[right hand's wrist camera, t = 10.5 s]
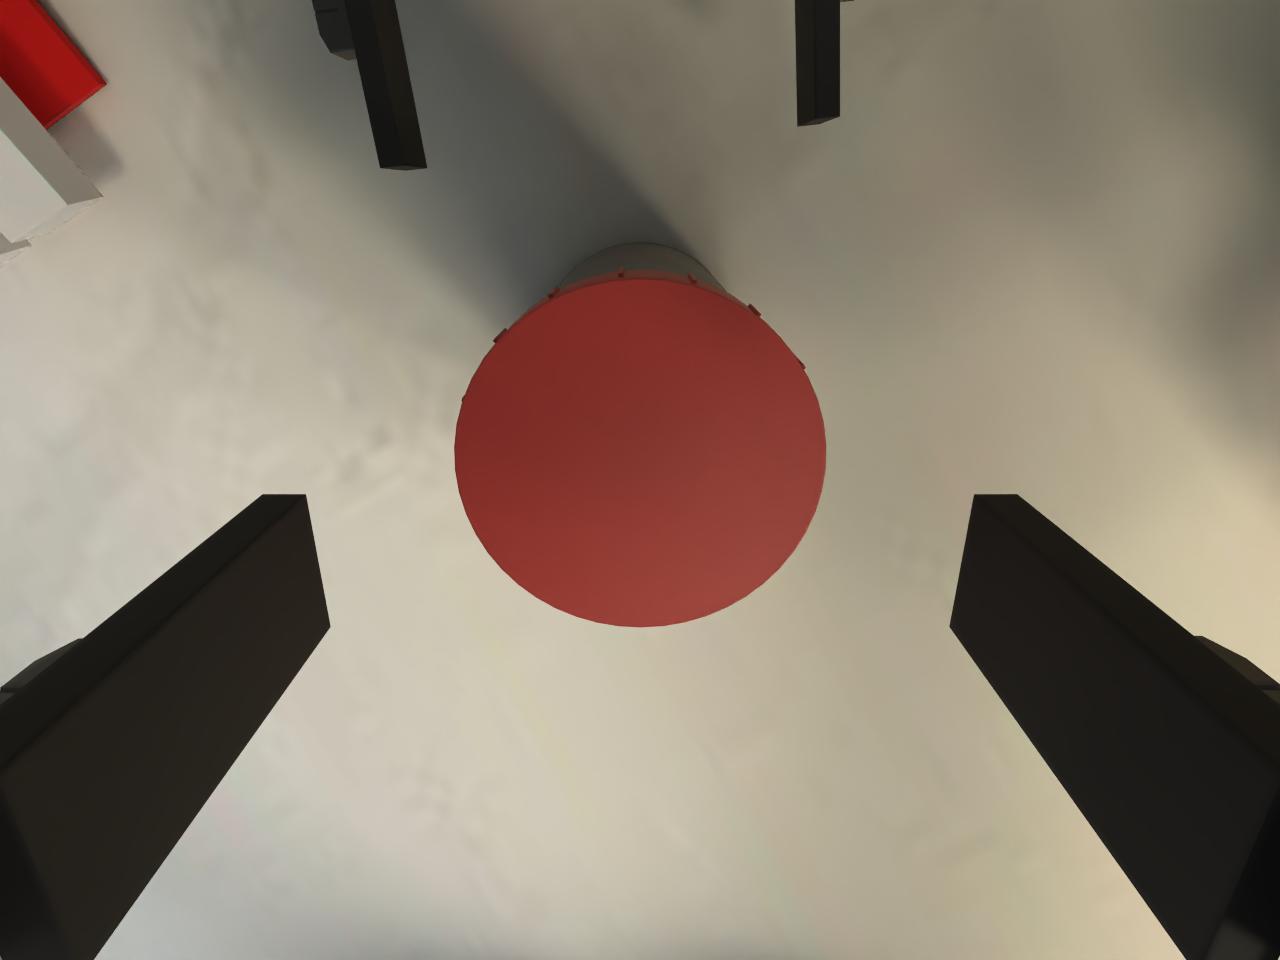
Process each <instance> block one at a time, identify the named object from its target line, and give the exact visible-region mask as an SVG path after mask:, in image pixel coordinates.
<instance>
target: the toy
mask: <svg viewBox="0 0 1280 960" xmlns="http://www.w3.org/2000/svg"><path fill="white" fill-rule="evenodd" d="M105 85H106V82H105V81H104V80H103V79H102V78H101V76H100V75H99V74H98V73H97V72H96V70H95V69H94V68H93V67H92V66H91V65H90V63H89V62H88V61H87V60H86V59H85V57H84V56H83V55H82V54H81V53H80V52H79V50H78V49H77V48H76V47H75V46H74V44H73V43H72V42H71V41H70V40H69V38H68V37H67V36H66V35H65V34H64V33H63V31H62V30H61V29H60V28H59V27H58V25H57V24H56V23H55V22H54V21H53V19H52V18H51V17H50V16H49V15H48V14H47V12H46V11H45V10H44V9H43V8H42V6H41V5H40V4H39V3H38V2H37V1H36V0H0V267H1V266H2V265H4V264H5V263H6V262H8V261H9V260H11V259H12V258H14V257H15V256H17V255H18V254H20V253H21V252H23V251H24V250H26V249H27V248H29V247H30V246H32V245H31V244H30V243H29V242H28V241H27V240H26V239H29V238H33V237H37V236H40V235H44V234H48V233H51V232H52V231H54V230H55V229H57V228H58V227H60V226H61V225H63V224H64V223H66V222H67V221H69V220H70V219H71V218H73V217H74V216H76V215H77V214H79V213H80V212H82V211H83V210H85V209H86V208H88V207H89V206H91V205H92V204H94V203H95V202H97V201H98V200H100V199H101V198H102V197H103V195H102V194H101V193H100V192H99V191H98V190H97V189H96V187H95V186H94V185H93V184H92V183H91V182H90V180H89V179H88V178H87V177H86V176H85V175H84V173H83V172H82V171H81V170H80V169H79V168H78V166H77V165H76V164H75V163H74V162H73V161H72V159H71V158H70V157H69V156H68V155H67V154H66V153H65V151H64V150H63V149H62V148H61V147H60V146H59V144H58V143H57V142H56V141H55V140H54V139H53V137H52V136H51V135H50V134H49V133H48V132H47V129H48V128H50V127H51V126H52V125H54V124H55V123H56V122H58V121H59V120H60V119H62V118H63V117H64V116H65V115H67V114H68V113H69V112H71V111H72V110H73V109H75V108H76V107H77V106H79V105H80V104H81V103H83V102H84V101H85V100H87V99H88V98H89V97H91V96H92V95H93V94H95V93H96V92H97V91H99V90H100V89H101V88H102V87H104V86H105Z"/></svg>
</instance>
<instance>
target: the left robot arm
mask: <svg viewBox="0 0 1280 960" xmlns="http://www.w3.org/2000/svg"><path fill="white" fill-rule="evenodd" d="M846 1H854V0H795V26H796V78H797V127H798V126H806V125H815V124H821V123H824V122H826V121H829V120H831V119H834V118H837V117H839V116H840V2H846ZM312 3H313V7H314V10H315V16H316V20H317V24H318V29H319V33H320V36H321V37H322V39H323V41H324V42H325V44H326V46H327V47H328V49H329V51H330V52H331V53H333V54H335V55H337V56H339V57H342V58H344V59H346V60H354V59H357V63H358V67H359V72H360V77H361V81H362V86H363V90H364V95H365V100H366V104H367V109H368V114H369V118H370V123H371V127H372V132H373V137H374V141H375V146H376V151H377V155H378V160H379V164H380V168H384V169H395V170H415V169H424V168H427V164H426V159H425V154H424V148H423V143H422V138H421V133H420V128H419V123H418V117H417V112H416V107H415V102H414V97H413V92H412V87H411V81H410V76H409V71H408V66H407V61H406V56H405V50H404V45H403V40H402V35H401V30H400V25H399V20H398V14H397V9H396V4H395V0H312Z"/></svg>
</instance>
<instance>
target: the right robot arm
mask: <svg viewBox="0 0 1280 960" xmlns="http://www.w3.org/2000/svg"><path fill="white" fill-rule="evenodd" d="M329 628H330V621H329V616H328V611H327V605H326V600H325V595H324V589H323V584H322V579H321V573H320V568H319V562H318V557H317V552H316V546H315V541H314V536H313V530H312V525H311V520H310V514H309V509H308V503H307V498H306V494H263V495H261V496H260V497H259V498H258V499H256V500H255V501H254V502H253V503H251V504H250V505H249V506H248V507H246V508H245V509H244V510H243V511H241V512H240V513H239V514H238V515H236V516H235V517H234V518H233V519H231V520H230V521H229V522H228V523H226V524H225V525H224V526H223V527H221V528H220V529H219V530H218V531H216V532H215V533H214V534H213V535H211V536H210V537H209V538H208V539H206V540H205V541H204V542H203V543H201V544H200V545H199V546H198V547H196V548H195V549H194V550H193V551H192V552H190V553H189V554H188V555H187V556H185V557H184V558H183V559H182V560H180V561H179V562H178V563H177V564H175V565H174V566H173V567H172V568H170V569H169V570H168V571H167V572H165V573H164V574H163V575H162V576H160V577H159V578H158V579H157V580H155V581H154V582H153V583H152V584H150V585H149V586H148V587H147V588H145V589H144V590H143V591H142V592H140V593H139V594H138V595H137V596H135V597H134V598H133V599H132V600H130V601H129V602H128V603H127V604H125V605H124V606H123V607H122V608H120V609H119V610H118V611H117V612H115V613H114V614H113V615H112V616H110V617H109V618H108V619H107V620H105V621H104V622H103V623H102V624H101V625H99V626H98V627H97V628H96V629H94V630H93V631H92V632H91V633H89V634H88V635H87V636H86V637H84V638H83V639H77V640H75V641H73V642H71V643H69V644H67V645H65V646H63V647H61V648H59V649H57V650H55V651H53V652H51V653H50V654H48V655H46V656H44V657H42V658H40V659H38V660H36V661H34V662H33V663H32V664H30V665H29V666H28V667H26V668H25V669H24V670H23V671H21V672H20V673H19V674H17V675H16V676H15V677H14V678H12V679H11V680H10V681H8V682H7V683H6V684H5V685H3V686H2V687H1V688H0V689H1V690H0V956H1V958H2V960H94V959H95V957H96V956H97V954H98V953H99V952H100V950H101V949H102V947H103V946H104V945H105V943H106V942H107V940H108V939H109V938H110V936H111V935H112V933H113V932H114V930H115V929H116V928H117V926H118V925H119V923H120V922H121V921H122V919H123V918H124V916H125V915H126V914H127V912H128V911H129V909H130V908H131V907H132V905H133V904H134V902H135V901H136V900H137V898H138V897H139V895H140V894H141V893H142V891H143V890H144V888H145V887H146V885H147V884H148V883H149V881H150V880H151V878H152V877H153V876H154V874H155V873H156V871H157V870H158V869H159V867H160V866H161V864H162V863H163V862H164V860H165V859H166V857H167V856H168V855H169V853H170V852H171V850H172V849H173V848H174V846H175V845H176V843H177V842H178V841H179V839H180V838H181V836H182V835H183V833H184V832H185V831H186V829H187V828H188V826H189V825H190V824H191V822H192V821H193V819H194V818H195V817H196V815H197V814H198V812H199V811H200V810H201V808H202V807H203V805H204V804H205V803H206V801H207V800H208V798H209V797H210V796H211V794H212V793H213V791H214V790H215V788H216V787H217V786H218V784H219V783H220V781H221V780H222V779H223V777H224V776H225V774H226V773H227V772H228V770H229V769H230V767H231V766H232V765H233V763H234V762H235V760H236V759H237V758H238V756H239V755H240V753H241V752H242V751H243V749H244V748H245V746H246V745H247V743H248V742H249V741H250V739H251V738H252V736H253V735H254V734H255V732H256V731H257V729H258V728H259V727H260V725H261V724H262V722H263V721H264V720H265V718H266V717H267V715H268V714H269V713H270V711H271V710H272V708H273V707H274V706H275V704H276V703H277V701H278V700H279V699H280V697H281V696H282V694H283V693H284V691H285V690H286V689H287V687H288V686H289V684H290V683H291V682H292V680H293V679H294V677H295V676H296V675H297V673H298V672H299V670H300V669H301V668H302V666H303V665H304V663H305V662H306V661H307V659H308V658H309V656H310V655H311V654H312V652H313V651H314V649H315V648H316V646H317V645H318V644H319V642H320V641H321V639H322V638H323V637H324V635H325V634H326V632H327V631H328V630H329ZM950 628H951V630H952V631H953V632H954V634H955V635H956V637H957V638H958V639H959V641H960V642H961V644H962V645H963V646H964V648H965V649H966V651H967V652H968V654H969V655H970V656H971V658H972V659H973V661H974V662H975V663H976V665H977V666H978V668H979V669H980V670H981V672H982V673H983V675H984V676H985V677H986V679H987V680H988V682H989V683H990V684H991V686H992V687H993V689H994V690H995V691H996V693H997V694H998V696H999V697H1000V699H1001V700H1002V701H1003V703H1004V704H1005V706H1006V707H1007V708H1008V710H1009V711H1010V713H1011V714H1012V715H1013V717H1014V718H1015V720H1016V721H1017V722H1018V724H1019V725H1020V727H1021V728H1022V729H1023V731H1024V732H1025V734H1026V735H1027V736H1028V738H1029V739H1030V741H1031V742H1032V743H1033V745H1034V746H1035V748H1036V749H1037V751H1038V752H1039V753H1040V755H1041V756H1042V758H1043V759H1044V760H1045V762H1046V763H1047V765H1048V766H1049V767H1050V769H1051V770H1052V772H1053V773H1054V774H1055V776H1056V777H1057V779H1058V780H1059V781H1060V783H1061V784H1062V786H1063V787H1064V788H1065V790H1066V791H1067V793H1068V794H1069V796H1070V797H1071V798H1072V800H1073V801H1074V803H1075V804H1076V805H1077V807H1078V808H1079V810H1080V811H1081V812H1082V814H1083V815H1084V817H1085V818H1086V819H1087V821H1088V822H1089V824H1090V825H1091V826H1092V828H1093V829H1094V831H1095V832H1096V833H1097V835H1098V836H1099V838H1100V839H1101V841H1102V842H1103V843H1104V845H1105V846H1106V848H1107V849H1108V850H1109V852H1110V853H1111V855H1112V856H1113V857H1114V859H1115V860H1116V862H1117V863H1118V864H1119V866H1120V867H1121V869H1122V870H1123V871H1124V873H1125V874H1126V876H1127V877H1128V878H1129V880H1130V881H1131V883H1132V884H1133V885H1134V887H1135V888H1136V890H1137V891H1138V893H1139V894H1140V895H1141V897H1142V898H1143V900H1144V901H1145V902H1146V904H1147V905H1148V907H1149V908H1150V909H1151V911H1152V912H1153V914H1154V915H1155V916H1156V918H1157V919H1158V921H1159V922H1160V923H1161V925H1162V926H1163V928H1164V929H1165V930H1166V932H1167V933H1168V935H1169V936H1170V938H1171V939H1172V940H1173V942H1174V943H1175V945H1176V946H1177V947H1178V949H1179V950H1180V952H1181V953H1182V954H1183V956H1184V957H1185V959H1186V960H1278V958H1279V956H1280V684H1279V683H1277V682H1276V681H1275V680H1274V679H1272V678H1271V677H1270V676H1268V675H1267V674H1266V673H1265V672H1263V671H1262V670H1261V669H1259V668H1258V667H1257V666H1255V665H1254V664H1253V663H1252V662H1250V661H1249V660H1248V659H1246V658H1244V657H1242V656H1240V655H1238V654H1237V653H1235V652H1233V651H1231V650H1229V649H1227V648H1225V647H1223V646H1221V645H1219V644H1217V643H1215V642H1213V641H1211V640H1209V639H1207V638H1205V637H1203V636H1193V635H1192V634H1191V633H1189V632H1188V631H1187V630H1186V629H1184V628H1183V627H1182V626H1181V625H1179V624H1178V623H1177V622H1176V621H1175V620H1173V619H1172V618H1171V617H1170V616H1168V615H1167V614H1166V613H1165V612H1163V611H1162V610H1161V609H1160V608H1158V607H1157V606H1156V605H1155V604H1153V603H1152V602H1151V601H1150V600H1148V599H1147V598H1146V597H1145V596H1143V595H1142V594H1141V593H1140V592H1138V591H1137V590H1136V589H1135V588H1133V587H1132V586H1131V585H1130V584H1128V583H1127V582H1126V581H1125V580H1123V579H1122V578H1121V577H1120V576H1118V575H1117V574H1116V573H1115V572H1113V571H1112V570H1111V569H1110V568H1108V567H1107V566H1106V565H1105V564H1103V563H1102V562H1101V561H1100V560H1098V559H1097V558H1096V557H1095V556H1093V555H1092V554H1091V553H1090V552H1089V551H1087V550H1086V549H1085V548H1084V547H1082V546H1081V545H1080V544H1079V543H1077V542H1076V541H1075V540H1074V539H1072V538H1071V537H1070V536H1069V535H1067V534H1066V533H1065V532H1064V531H1062V530H1061V529H1060V528H1059V527H1057V526H1056V525H1055V524H1054V523H1052V522H1051V521H1050V520H1049V519H1047V518H1046V517H1045V516H1044V515H1042V514H1041V513H1040V512H1039V511H1037V510H1036V509H1035V508H1034V507H1032V506H1031V505H1030V504H1029V503H1027V502H1026V501H1025V500H1024V499H1022V498H1021V497H1020V496H1019V495H1017V494H974V498H973V503H972V509H971V514H970V520H969V525H968V530H967V536H966V541H965V546H964V552H963V557H962V562H961V568H960V573H959V579H958V584H957V589H956V595H955V600H954V605H953V611H952V616H951V621H950Z"/></svg>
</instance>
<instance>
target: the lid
mask: <svg viewBox="0 0 1280 960" xmlns="http://www.w3.org/2000/svg"><path fill="white" fill-rule="evenodd" d="M760 316H761V314H760V313H759V312H758V311H757V310H756V309H755V307H754V306H752V305H751V304H749V305H748V306H747V305H745V304H744V303H742V302H741V301H739V300H738V299H737V298H735V297H734V296H732V295H731V294H729V293H727V292H725V291H723V290H721V289H719V288H717V287H715V286H713V285H711V284H709V283H706V282H703V281H700V280H697V279H696V278H695V277H694V275H693V274H690V273H689V274H688V276H685V275H680V274H675V273H670V272H665V271H653V270H628V271H624V267H621V268H619V271H615V272H610V273H605V274H601V275H596V276H591V277H589V278H586V279H583V280H580V281H578V282H575V283H572V284H569V285H567V286H565V287H563V288H561V289H560V290H559V288H558V287H555V288H554V289H553V290H552V291H551V292H550V293H549V295H548V296H547V297H545V298H544V299H542V300H541V301H540V302H538V303H537V304H535V305H534V306H533V307H531V308H530V309H529V310H528V311H526V312H525V313H524V314H523V315H522V316H521V317H520V318H519V319H518V320H517V321H516V322H515V323H514V324H513V325H512V326H511V327H510V328H509V329H508V330H507V329H506V328H505V329H504V330H503V331H502V332H501V333H500V334H499V335H498V336H497V337H496V338H495V339H494V340H493V342H495V345H494V346H493V347H492V348H491V350H490V351H489V352H488V353H487V355H486V356H485V357H484V358H483V360H482V362H481V364H480V365H479V367H478V369H477V370H476V372H475V374H474V376H473V377H472V379H471V381H470V384H469V386H468V389H467V391H466V394H465V395H464V396H463V398H462V405H461V409H460V413H459V417H458V421H457V426H456V436H455V445H454V452H455V472H456V477H457V483H458V489H459V493H460V496H461V500H462V503H463V506H464V509H465V512H466V515H467V517H468V519H469V521H470V523H471V525H472V527H473V529H474V531H475V533H476V535H477V537H478V538H479V540H480V541H481V543H482V544H483V546H484V547H485V549H486V551H487V552H488V553H489V555H490V556H491V557H492V558H493V559H494V561H495V562H496V563H497V564H498V565H499V566H500V568H501V569H502V570H503V571H504V572H505V573H506V574H508V575H509V576H510V577H511V578H512V579H513V580H514V581H515V582H516V583H517V584H518V585H520V586H521V587H523V588H524V589H525V590H527V591H528V592H529V593H531V594H532V595H534V596H535V597H536V598H538V599H540V600H542V601H544V602H545V603H547V604H549V605H551V606H553V607H554V608H557V609H559V610H561V611H564V612H566V613H569V614H571V615H574V616H576V617H580V618H583V619H587V620H590V621H594V622H597V623H603V624H609V625H615V626H626V627H654V626H666V625H671V624H677V623H683V622H687V621H691V620H694V619H697V618H701V617H704V616H707V615H710V614H712V613H714V612H717V611H719V610H721V609H724V608H726V607H728V606H730V605H732V604H733V603H735V602H737V601H739V600H740V599H742V598H744V597H746V596H747V595H748V594H750V593H751V592H752V591H754V590H755V589H757V588H758V587H759V586H761V585H762V584H763V583H764V582H766V581H767V580H768V579H769V578H770V577H771V576H772V575H773V574H774V573H775V572H776V571H777V570H778V569H779V568H780V567H781V566H782V565H783V564H784V562H785V561H786V560H787V559H788V558H789V556H790V555H791V554H792V553H793V552H794V550H795V548H796V547H797V545H798V544H799V542H800V541H801V539H802V537H803V536H804V534H805V533H806V531H807V528H808V526H809V524H810V522H811V520H812V518H813V516H814V513H815V511H816V508H817V504H818V501H819V498H820V495H821V492H822V487H823V481H824V475H825V469H826V439H825V429H824V422H823V418H822V414H821V411H820V407H819V403H818V399H817V397H816V394H815V392H814V390H813V387H812V385H811V383H810V380H809V378H808V376H807V374H806V373H805V371H804V369H805V366H804V364H803V363H802V362H801V361H800V360H799V359H798V358H797V357H796V356H795V355H794V354H793V352H792V351H791V350H790V349H789V348H788V346H787V345H786V344H785V343H784V341H783V340H782V339H781V338H780V337H779V336H778V335H777V333H776V332H775V331H774V330H773V329H772V328H771V327H770V326H769V325H768V324H767V323H766V322H765V321H764V320H763V319H762V318H760Z"/></svg>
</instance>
